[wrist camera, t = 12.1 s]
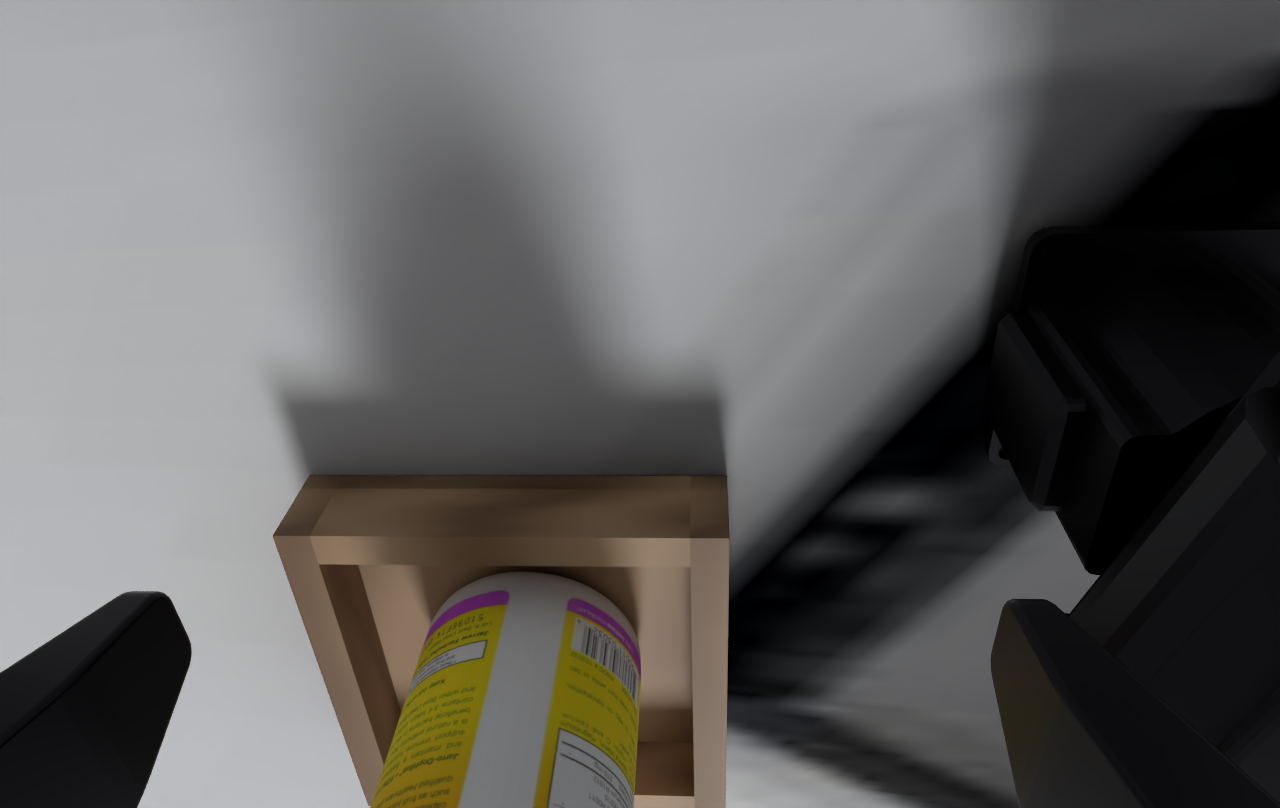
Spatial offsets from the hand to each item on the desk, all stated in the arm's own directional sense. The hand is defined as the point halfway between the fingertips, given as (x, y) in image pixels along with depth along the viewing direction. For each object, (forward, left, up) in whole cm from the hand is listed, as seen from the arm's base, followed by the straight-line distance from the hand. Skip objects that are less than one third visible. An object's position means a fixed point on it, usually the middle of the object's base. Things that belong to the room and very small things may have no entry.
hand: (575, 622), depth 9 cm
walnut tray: (+4, +14, -13) cm, 20 cm away
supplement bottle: (+4, +14, -13) cm, 19 cm away
